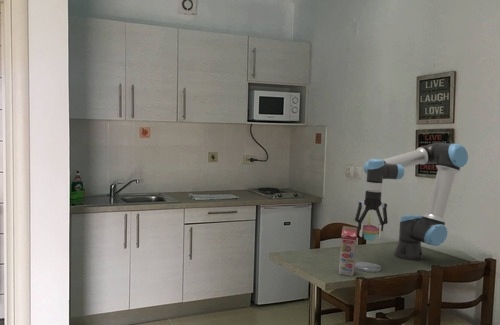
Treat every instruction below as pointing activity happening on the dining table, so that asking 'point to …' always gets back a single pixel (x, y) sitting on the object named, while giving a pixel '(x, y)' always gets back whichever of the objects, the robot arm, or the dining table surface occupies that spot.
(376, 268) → the plate
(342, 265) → the juice carton
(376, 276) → the dining table surface
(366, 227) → the cupcake
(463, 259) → the dining table surface
